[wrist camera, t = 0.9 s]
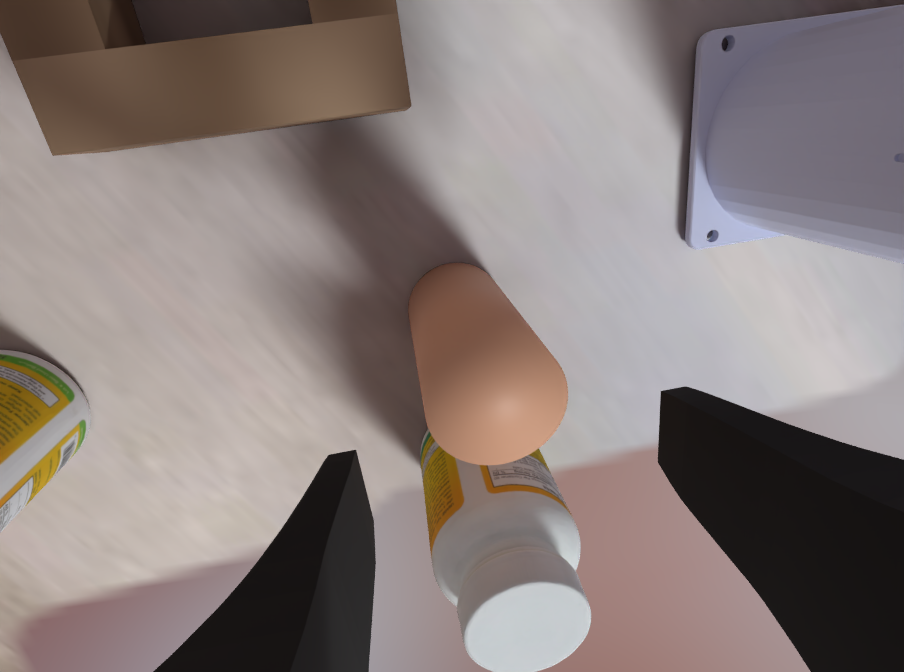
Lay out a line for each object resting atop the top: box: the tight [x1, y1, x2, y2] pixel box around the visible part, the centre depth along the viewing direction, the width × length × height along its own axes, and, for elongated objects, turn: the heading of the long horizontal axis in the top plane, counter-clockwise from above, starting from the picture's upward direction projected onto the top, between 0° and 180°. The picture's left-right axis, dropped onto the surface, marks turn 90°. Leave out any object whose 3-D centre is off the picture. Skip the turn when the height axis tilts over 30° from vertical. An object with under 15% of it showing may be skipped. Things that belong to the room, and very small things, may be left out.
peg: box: [408, 263, 568, 465], centre depth 17 cm, size 4×4×8 cm
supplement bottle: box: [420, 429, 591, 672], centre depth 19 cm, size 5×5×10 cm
